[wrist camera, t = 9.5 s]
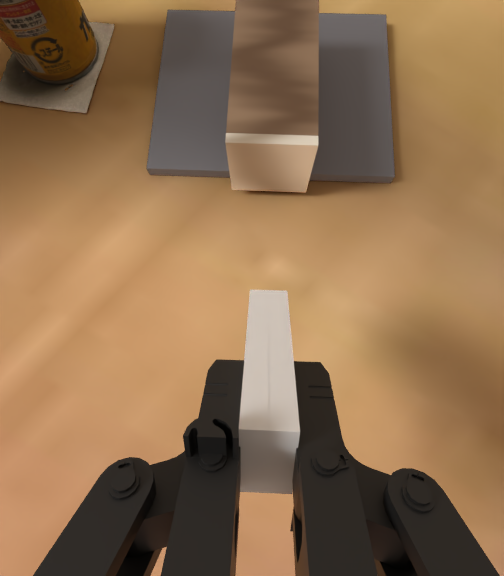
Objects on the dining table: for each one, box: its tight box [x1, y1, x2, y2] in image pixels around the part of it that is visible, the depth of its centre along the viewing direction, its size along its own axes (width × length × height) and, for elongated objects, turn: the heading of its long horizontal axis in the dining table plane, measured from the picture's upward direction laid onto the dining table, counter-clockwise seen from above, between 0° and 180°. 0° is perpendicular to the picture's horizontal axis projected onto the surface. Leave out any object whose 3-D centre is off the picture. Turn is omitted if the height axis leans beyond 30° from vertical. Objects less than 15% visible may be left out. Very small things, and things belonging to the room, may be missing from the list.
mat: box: [147, 10, 395, 183], centre depth 26 cm, size 17×14×1 cm
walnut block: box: [225, 0, 319, 192], centre depth 23 cm, size 5×5×12 cm
